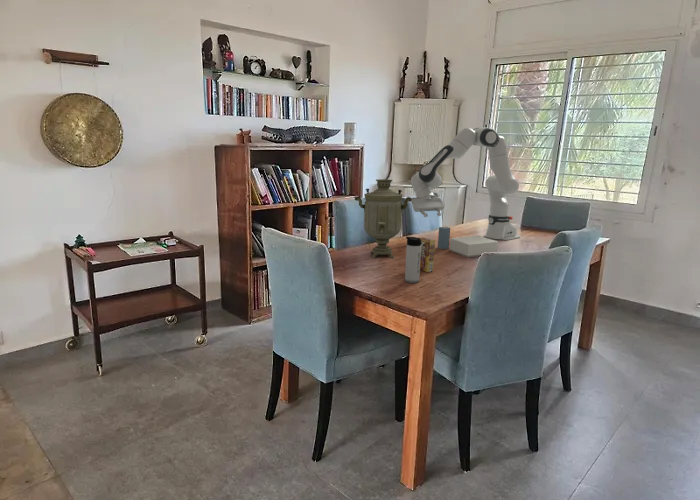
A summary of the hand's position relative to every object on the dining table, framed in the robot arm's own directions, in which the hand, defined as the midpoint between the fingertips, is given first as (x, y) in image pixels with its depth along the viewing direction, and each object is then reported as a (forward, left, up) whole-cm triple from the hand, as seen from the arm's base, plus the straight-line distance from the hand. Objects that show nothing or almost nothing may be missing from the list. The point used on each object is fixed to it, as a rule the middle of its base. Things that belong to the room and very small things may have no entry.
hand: (432, 216), depth 271 cm
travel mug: (+50, +58, -17) cm, 78 cm away
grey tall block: (0, +12, -17) cm, 21 cm away
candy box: (+35, +45, -17) cm, 59 cm away
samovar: (+43, +15, -17) cm, 49 cm away
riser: (-10, +26, -17) cm, 33 cm away
